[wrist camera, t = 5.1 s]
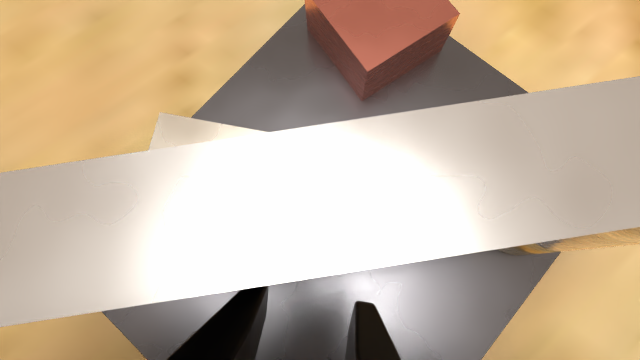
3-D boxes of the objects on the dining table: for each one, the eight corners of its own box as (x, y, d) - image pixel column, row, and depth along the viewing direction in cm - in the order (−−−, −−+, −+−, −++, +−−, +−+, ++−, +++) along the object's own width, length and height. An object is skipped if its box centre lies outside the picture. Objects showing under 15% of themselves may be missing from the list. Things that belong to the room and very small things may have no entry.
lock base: (334, 532, 14) (336, 621, 10) (70, 259, 16) (-2, 255, 13) (608, 166, 16) (684, 136, 13) (349, -23, 19) (354, -91, 15)
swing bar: (586, 154, 12) (897, 10, 6) (615, 243, 12) (1004, 202, 5) (177, 217, 12) (-12, 147, 5) (183, 311, 12) (-21, 364, 5)
